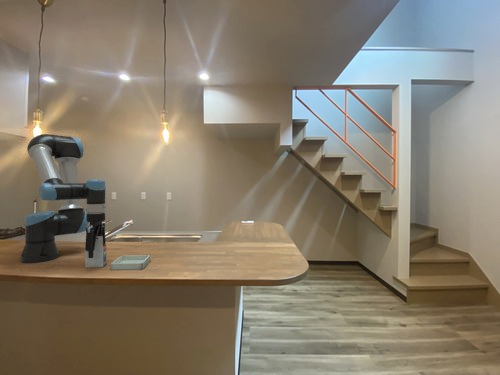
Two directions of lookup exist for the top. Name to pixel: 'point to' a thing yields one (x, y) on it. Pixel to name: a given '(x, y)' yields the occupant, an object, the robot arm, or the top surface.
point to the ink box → (97, 254)
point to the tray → (130, 262)
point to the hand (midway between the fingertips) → (96, 261)
